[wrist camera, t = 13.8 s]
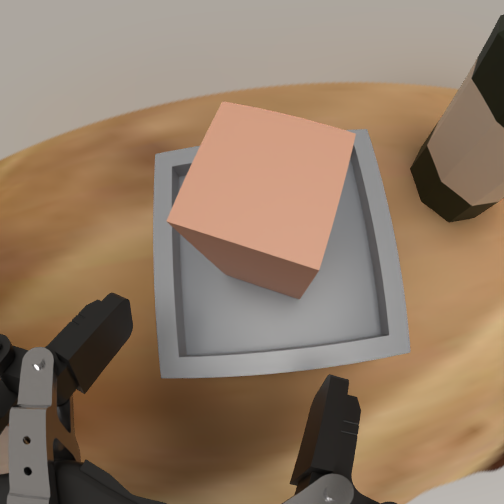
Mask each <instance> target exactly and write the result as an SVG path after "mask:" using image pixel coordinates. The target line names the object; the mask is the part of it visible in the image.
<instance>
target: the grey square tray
mask: <svg viewBox="0 0 504 504" xmlns="http://www.w3.org/2000/svg"><path fill="white" fill-rule="evenodd" d="M346 131H349V132H352V133H355V134H356V136H355V140H354V144H353V149H352V153H351V157H350V161H349V165H348V169H347V173H346V177H345V181H344V185H343V189H342V192H341V196H340V200H339V204H338V207H337V211H336V215H335V218H334V222H333V225H332V229H331V232H330V236H329V239H328V243H327V246H326V249H325V253H324V256H323V259H322V263H321V266H320V269H319V271H318V273H317V274H316V276H315V277H314V279H313V280H312V282H311V283H310V285H309V286H308V288H307V289H306V291H305V292H304V294H303V295H302V297H301V298H300V299H296V298H293V297H290V296H287V295H284V294H281V293H278V292H275V291H272V290H269V289H266V288H263V287H260V286H257V285H254V284H251V283H248V282H245V281H242V280H239V279H237V278H234V277H231V276H228V275H225V274H224V273H223V272H222V271H221V270H220V269H218V268H217V267H216V266H215V265H214V264H213V263H212V262H211V261H209V260H208V259H207V258H206V257H205V256H204V255H203V254H202V253H201V252H199V251H198V250H197V249H196V248H195V247H194V246H193V245H192V244H191V243H189V242H188V241H187V240H186V239H185V238H184V237H183V236H182V235H181V234H180V233H179V232H177V231H176V230H175V229H174V228H173V227H172V226H171V225H170V224H169V223H168V222H167V219H168V216H169V214H170V211H171V209H172V207H173V204H174V202H175V200H176V197H177V195H178V193H179V191H180V188H181V186H182V184H183V182H184V179H185V177H186V175H187V173H188V171H189V169H190V166H191V164H192V162H193V160H194V158H195V156H196V154H197V151H198V149H199V147H200V146H196V147H190V148H185V149H179V150H174V151H169V152H164V153H159V154H156V155H155V175H154V212H153V251H154V288H155V309H156V325H157V338H158V351H159V362H160V372H161V378H212V377H233V376H249V375H263V374H274V373H284V372H294V371H303V370H311V369H319V368H326V367H333V366H340V365H346V364H352V363H358V362H364V361H370V360H375V359H380V358H386V357H391V356H395V355H400V354H405V353H409V352H410V341H409V330H408V320H407V311H406V303H405V295H404V288H403V281H402V275H401V269H400V263H399V257H398V251H397V246H396V241H395V235H394V231H393V226H392V221H391V216H390V212H389V207H388V203H387V199H386V195H385V191H384V187H383V183H382V179H381V175H380V171H379V168H378V164H377V161H376V157H375V154H374V150H373V147H372V144H371V140H370V137H369V134H368V131H367V129H362V130H346Z"/></svg>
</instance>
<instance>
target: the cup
mask: <svg viewBox="0 0 504 504" xmlns="http://www.w3.org/2000/svg"><path fill="white" fill-rule="evenodd" d="M8 441H9V427H8V426H6V427H5V429H4V430H3V432H2V433H1V435H0V474H5V473H9V457H8Z"/></svg>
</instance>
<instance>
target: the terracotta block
mask: <svg viewBox="0 0 504 504" xmlns="http://www.w3.org/2000/svg"><path fill="white" fill-rule="evenodd" d="M355 136H356V134H355V133H352V132H349V131H346V130H343V129H339V128H336V127H332V126H329V125H325V124H322V123H318V122H315V121H311V120H307V119H303V118H299V117H295V116H291V115H287V114H283V113H279V112H274V111H270V110H265V109H260V108H256V107H251V106H246V105H240V104H235V103H229V102H224V101H223V102H222V104H221V105H220V107H219V109H218V111H217V113H216V115H215V117H214V119H213V121H212V123H211V125H210V127H209V129H208V131H207V133H206V135H205V137H204V139H203V141H202V143H201V145H200V147H199V149H198V151H197V154H196V156H195V158H194V160H193V162H192V164H191V166H190V169H189V171H188V173H187V175H186V177H185V179H184V182H183V184H182V186H181V188H180V191H179V193H178V195H177V197H176V200H175V202H174V204H173V207H172V209H171V211H170V214H169V216H168V219H167V222H168V223H169V224H170V225H171V226H172V227H173V228H174V229H175V230H176V231H177V232H179V233H180V234H181V235H182V236H183V237H184V238H185V239H186V240H187V241H188V242H189V243H191V244H192V245H193V246H194V247H195V248H196V249H197V250H198V251H199V252H201V253H202V254H203V255H204V256H205V257H206V258H207V259H208V260H209V261H211V262H212V263H213V264H214V265H215V266H216V267H217V268H218V269H220V270H221V271H222V272H223V273H224V274H225V275H228V276H231V277H234V278H237V279H239V280H242V281H245V282H248V283H251V284H254V285H257V286H260V287H263V288H266V289H269V290H272V291H275V292H278V293H281V294H284V295H287V296H290V297H293V298H296V299H300V298H301V297H302V295H303V294H304V292H305V291H306V289H307V288H308V286H309V285H310V283H311V282H312V280H313V279H314V277H315V276H316V274H317V273H318V271H319V269H320V266H321V263H322V259H323V256H324V253H325V249H326V246H327V243H328V239H329V236H330V232H331V229H332V225H333V222H334V218H335V215H336V211H337V207H338V204H339V200H340V196H341V192H342V189H343V185H344V181H345V177H346V173H347V169H348V165H349V161H350V157H351V153H352V149H353V144H354V140H355Z"/></svg>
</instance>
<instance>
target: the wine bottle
mask: <svg viewBox="0 0 504 504" xmlns="http://www.w3.org/2000/svg"><path fill="white" fill-rule="evenodd" d="M410 169H411V172H412V175H413V178H414V181H415V184H416V187H417V190H418V193H419V196H420V199H421V202H423V203H424V204H426V205H427V206H428V207H430V208H431V209H432V210H434V211H435V212H436V213H437V214H439V215H440V216H441V217H443V218H444V219H445V220H446V221H448V222H454V221H459V220H465V219H470V218H475V217H476V216H478V215H479V214H481V213H482V212H484V211H485V210H487V209H488V208H490V207H491V206H493V205H494V204H496V203H497V202H499V201H500V200H501V199H503V198H504V15H501V16H500V18H499V20H498V21H497V23H496V25H495V27H494V29H493V31H492V33H491V35H490V37H489V38H488V40H487V42H486V44H485V46H484V47H483V49H482V51H481V53H480V55H479V56H478V58H477V60H476V62H475V64H474V65H473V67H472V68H471V70H470V72H469V73H468V75H467V77H466V78H465V80H464V82H463V83H462V85H461V87H460V88H459V90H458V92H457V93H456V95H455V96H454V98H453V100H452V101H451V103H450V104H449V106H448V108H447V109H446V111H445V112H444V114H443V115H442V117H441V118H440V120H439V121H438V123H437V125H436V126H435V128H434V129H433V131H432V132H431V134H430V135H429V137H428V138H427V140H426V141H425V142H424V144H423V145H422V147H421V149H420V151H419V153H418V155H417V157H416V159H415V161H414V163H413V165H412V167H411V168H410Z"/></svg>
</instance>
